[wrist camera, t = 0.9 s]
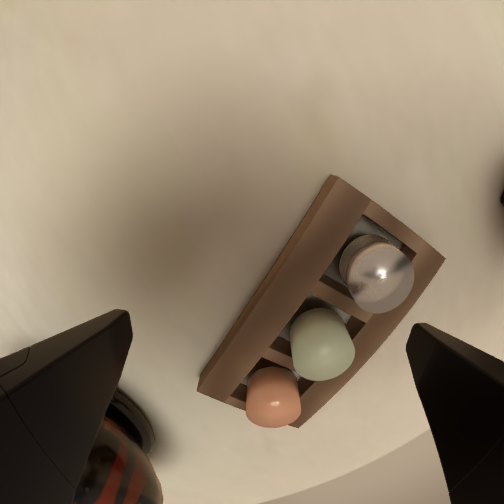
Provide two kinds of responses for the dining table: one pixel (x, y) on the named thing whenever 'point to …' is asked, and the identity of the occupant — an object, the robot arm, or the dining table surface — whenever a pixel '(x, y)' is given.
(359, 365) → the button panel
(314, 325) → the sage button
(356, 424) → the dining table surface
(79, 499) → the amphora vase
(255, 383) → the terracotta button
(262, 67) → the dining table surface
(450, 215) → the dining table surface
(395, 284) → the grey button
